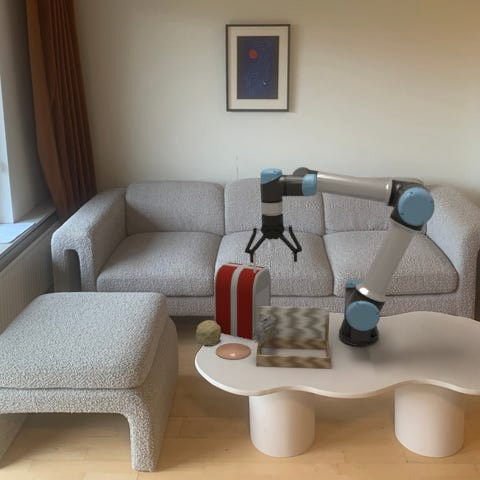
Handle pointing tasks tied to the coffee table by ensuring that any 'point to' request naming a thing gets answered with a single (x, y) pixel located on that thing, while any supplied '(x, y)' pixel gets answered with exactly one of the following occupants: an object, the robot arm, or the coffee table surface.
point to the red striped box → (240, 298)
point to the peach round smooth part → (233, 351)
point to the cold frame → (296, 336)
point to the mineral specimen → (265, 330)
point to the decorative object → (208, 333)
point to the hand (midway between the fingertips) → (274, 271)
